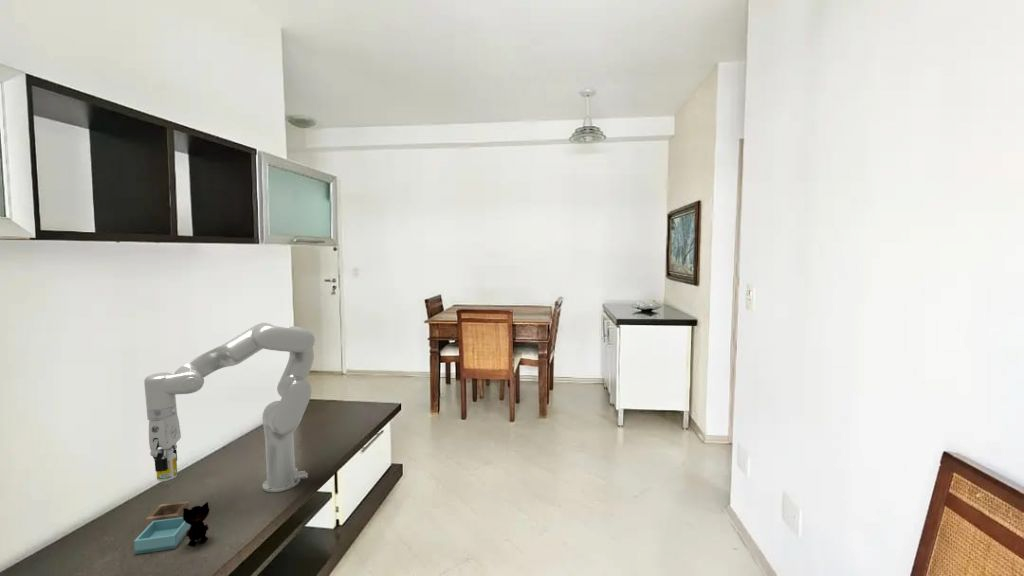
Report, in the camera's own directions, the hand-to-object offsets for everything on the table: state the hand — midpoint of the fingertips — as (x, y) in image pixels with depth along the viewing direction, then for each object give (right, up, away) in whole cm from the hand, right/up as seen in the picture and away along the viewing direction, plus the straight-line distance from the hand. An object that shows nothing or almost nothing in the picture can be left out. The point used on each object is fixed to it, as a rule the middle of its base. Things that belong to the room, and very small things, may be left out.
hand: (166, 465), depth 146 cm
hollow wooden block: (0, -18, +1) cm, 18 cm away
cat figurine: (+18, -19, -11) cm, 28 cm away
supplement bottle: (0, -4, 0) cm, 4 cm away
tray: (+7, -19, -10) cm, 22 cm away
